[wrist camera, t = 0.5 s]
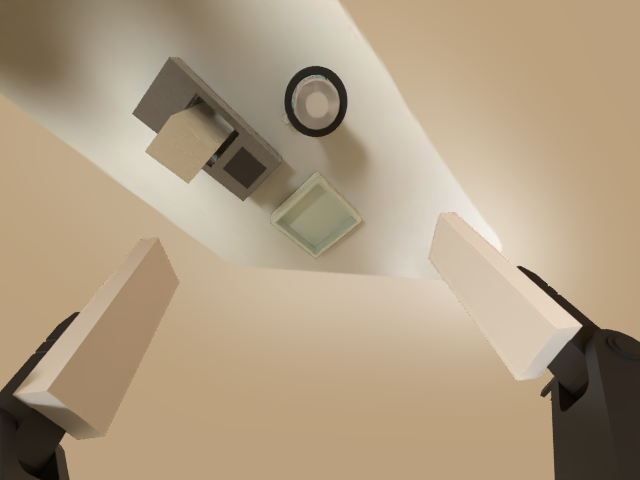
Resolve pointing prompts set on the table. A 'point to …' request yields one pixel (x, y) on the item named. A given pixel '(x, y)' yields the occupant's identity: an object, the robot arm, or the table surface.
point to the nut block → (189, 140)
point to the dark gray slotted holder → (248, 147)
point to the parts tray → (315, 216)
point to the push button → (315, 102)
